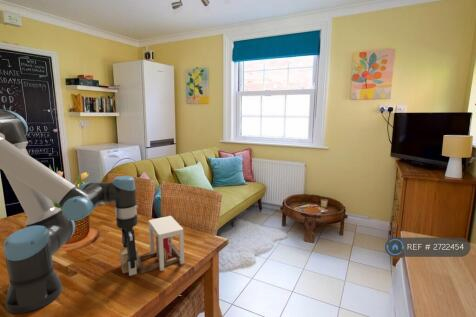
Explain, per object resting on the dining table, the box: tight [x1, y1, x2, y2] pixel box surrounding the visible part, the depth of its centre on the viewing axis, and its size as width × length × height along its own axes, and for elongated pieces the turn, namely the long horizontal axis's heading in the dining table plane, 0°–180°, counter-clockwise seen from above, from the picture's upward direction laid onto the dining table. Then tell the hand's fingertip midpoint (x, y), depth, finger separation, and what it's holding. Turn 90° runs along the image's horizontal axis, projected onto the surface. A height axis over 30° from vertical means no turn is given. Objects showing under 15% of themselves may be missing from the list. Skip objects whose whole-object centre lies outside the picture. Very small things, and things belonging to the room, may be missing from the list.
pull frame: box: [119, 243, 180, 274], centre depth 109 cm, size 23×11×8 cm, turn 123°
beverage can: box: [155, 235, 173, 261], centre depth 112 cm, size 6×6×12 cm
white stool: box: [148, 215, 185, 272], centre depth 112 cm, size 10×16×16 cm, turn 33°
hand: (130, 267), depth 106 cm, fingers open, 9 cm apart
